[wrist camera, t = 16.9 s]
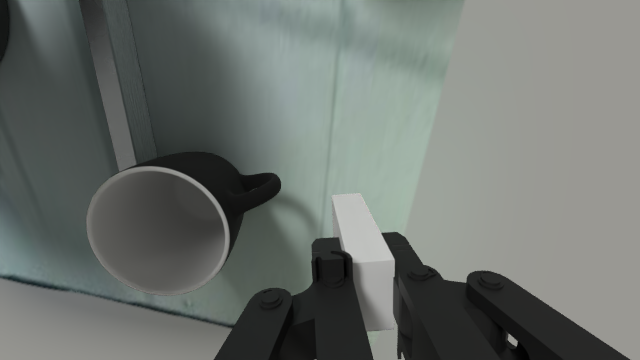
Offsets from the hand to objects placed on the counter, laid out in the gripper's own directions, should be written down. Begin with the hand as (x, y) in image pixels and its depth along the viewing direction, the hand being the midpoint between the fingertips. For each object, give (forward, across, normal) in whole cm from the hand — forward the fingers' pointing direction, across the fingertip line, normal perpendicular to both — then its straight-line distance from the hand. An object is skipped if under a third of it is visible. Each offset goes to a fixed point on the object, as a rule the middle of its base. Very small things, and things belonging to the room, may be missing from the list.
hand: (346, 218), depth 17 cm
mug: (+14, -10, -2) cm, 17 cm away
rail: (+14, -16, +6) cm, 22 cm away
